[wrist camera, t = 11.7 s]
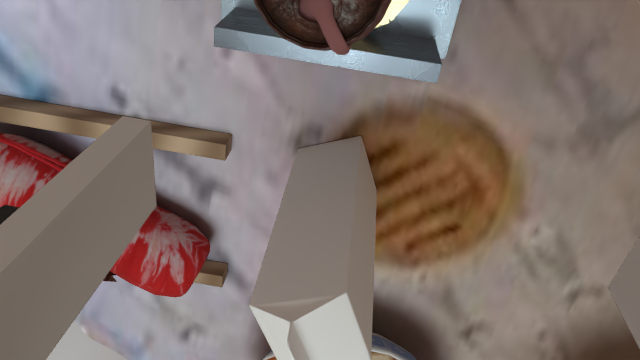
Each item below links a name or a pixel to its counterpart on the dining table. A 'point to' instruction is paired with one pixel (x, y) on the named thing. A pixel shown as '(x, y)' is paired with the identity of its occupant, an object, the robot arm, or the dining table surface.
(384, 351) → the ramen bowl
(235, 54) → the dining table surface
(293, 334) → the milk
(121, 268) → the water bottle
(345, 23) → the can
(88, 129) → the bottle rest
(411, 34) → the bolted ring bracket
